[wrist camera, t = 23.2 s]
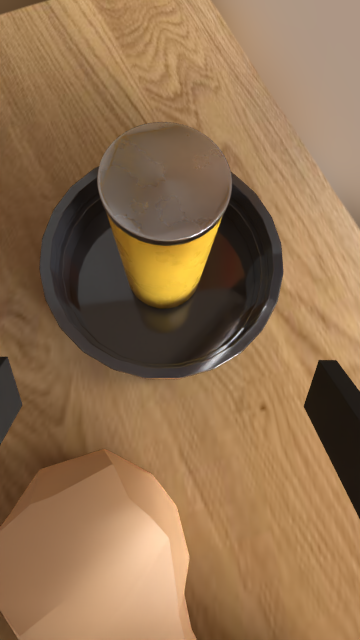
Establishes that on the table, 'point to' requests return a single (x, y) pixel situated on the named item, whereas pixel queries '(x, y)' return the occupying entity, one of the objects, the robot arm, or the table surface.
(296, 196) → the table surface
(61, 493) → the squash
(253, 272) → the pan
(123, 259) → the corn can
